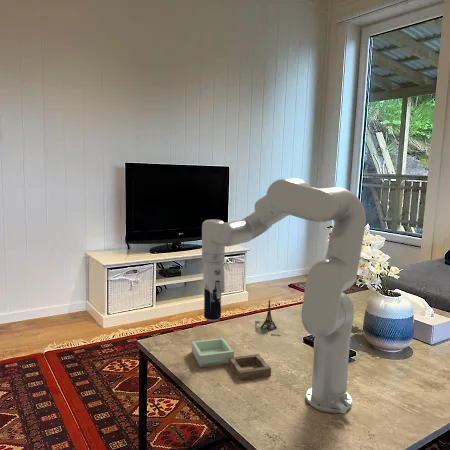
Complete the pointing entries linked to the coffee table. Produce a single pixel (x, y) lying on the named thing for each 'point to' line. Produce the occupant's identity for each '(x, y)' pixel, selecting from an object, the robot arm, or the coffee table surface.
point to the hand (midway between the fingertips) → (212, 309)
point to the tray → (212, 352)
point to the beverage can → (207, 306)
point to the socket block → (249, 373)
